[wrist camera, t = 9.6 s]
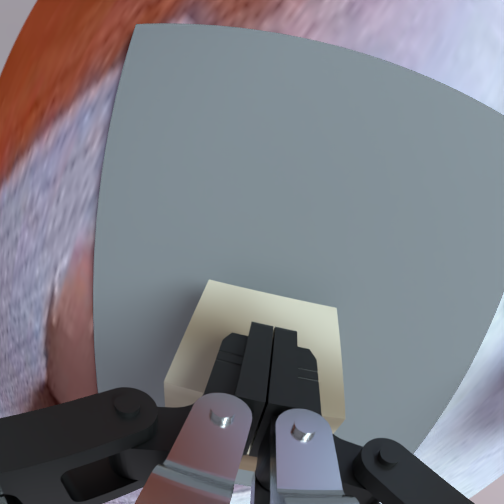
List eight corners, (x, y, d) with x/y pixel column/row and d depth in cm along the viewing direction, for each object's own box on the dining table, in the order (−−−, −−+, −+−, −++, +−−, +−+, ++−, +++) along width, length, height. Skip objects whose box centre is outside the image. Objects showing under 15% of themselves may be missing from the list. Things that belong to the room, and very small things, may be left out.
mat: (139, 27, 13) (136, 24, 13) (534, 138, 12) (539, 138, 12) (107, 440, 21) (105, 444, 21) (377, 491, 21) (378, 495, 20)
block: (163, 381, 9) (168, 451, 12) (345, 418, 9) (294, 477, 12) (208, 279, 15) (199, 362, 18) (336, 307, 14) (301, 384, 17)
